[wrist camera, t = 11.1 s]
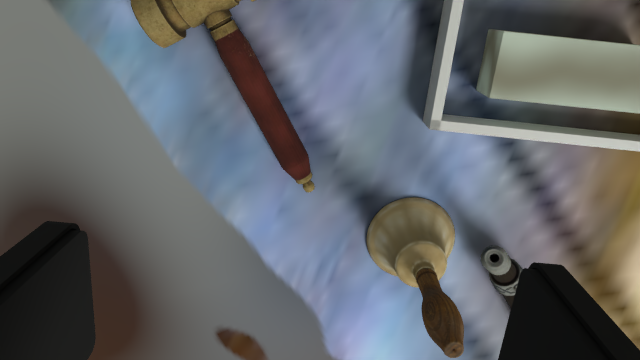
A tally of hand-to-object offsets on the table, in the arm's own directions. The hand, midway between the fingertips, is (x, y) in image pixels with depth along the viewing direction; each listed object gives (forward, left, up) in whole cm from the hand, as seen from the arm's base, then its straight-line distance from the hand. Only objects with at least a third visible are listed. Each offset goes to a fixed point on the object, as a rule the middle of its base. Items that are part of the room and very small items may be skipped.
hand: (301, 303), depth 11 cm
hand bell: (+14, +10, -33) cm, 37 cm away
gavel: (+1, -5, -34) cm, 34 cm away
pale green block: (-3, +19, -33) cm, 39 cm away
